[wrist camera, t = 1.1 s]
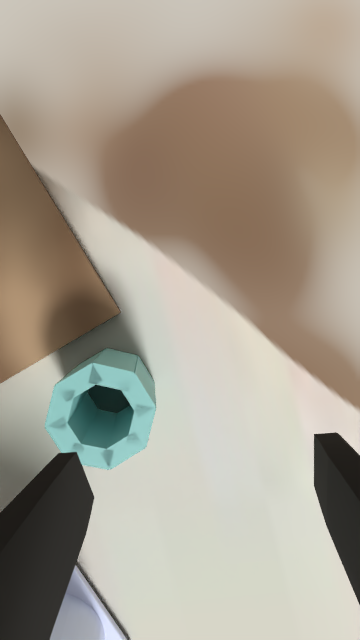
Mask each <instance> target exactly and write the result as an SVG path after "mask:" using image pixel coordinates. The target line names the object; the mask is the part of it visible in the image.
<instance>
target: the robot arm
mask: <svg viewBox="0 0 360 640" xmlns="http://www.w3.org/2000/svg"><path fill="white" fill-rule="evenodd" d="M314 487H315V490H316V493H317V497H318V500H319V503H320V507H321V510H322V513H323V516H324V519H325V522H326V525H327V528H328V530H329V533H330V535H331V537H332V540H333V542H334V545H335V547H336V550H337V552H338V554H339V557H340V559H341V562H342V564H343V566H344V569H345V571H346V573H347V576H348V578H349V581H350V583H351V585H352V588H353V590H354V592H355V595H356V597H357V600H358V602H359V604H360V455H359V454H358V453H357V452H356V451H355V450H354V449H353V448H352V447H351V446H350V445H349V444H348V443H347V442H346V441H345V440H344V439H343V438H342V437H341V436H340V435H339V434H338V433H325V434H314ZM93 500H94V496H93V493H92V490H91V488H90V485H89V483H88V480H87V477H86V475H85V472H84V470H83V467H82V464H81V462H80V459H79V456H78V454H77V452H68V453H58V454H57V455H56V456H55V457H54V458H53V459H52V460H51V461H50V462H49V463H48V464H47V465H46V466H45V467H44V468H43V469H42V471H41V472H40V473H39V474H38V475H37V476H36V477H35V478H34V479H33V480H32V481H31V482H30V483H29V484H28V485H27V486H26V487H25V488H24V489H23V490H22V491H21V492H20V493H19V494H18V495H17V496H16V497H15V498H14V500H13V501H12V502H11V503H10V504H9V505H8V506H7V507H6V508H5V509H4V510H3V511H2V512H1V513H0V640H127V639H126V637H125V636H124V634H123V633H122V631H121V630H120V629H119V627H118V626H117V624H116V623H115V621H114V620H113V618H112V617H111V615H110V614H109V613H108V611H107V610H106V608H105V607H104V605H103V604H102V602H101V601H100V600H99V598H98V597H97V595H96V594H95V592H94V591H93V589H92V588H91V586H90V585H89V584H88V582H87V581H86V579H85V578H84V576H83V575H82V573H81V572H80V570H79V569H78V568H77V566H76V562H77V559H78V556H79V553H80V550H81V547H82V544H83V541H84V538H85V535H86V531H87V527H88V523H89V519H90V514H91V510H92V505H93Z"/></svg>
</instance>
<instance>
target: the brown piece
mask: <svg viewBox="0 0 360 640" xmlns="http://www.w3.org/2000/svg"><path fill="white" fill-rule="evenodd" d="M119 313H121V311H120V310H119V308H118V307H117V305H116V303H115V302H114V300H113V298H112V297H111V295H110V293H109V292H108V290H107V289H106V287H105V285H104V284H103V282H102V280H101V279H100V277H99V275H98V274H97V272H96V271H95V269H94V267H93V266H92V264H91V262H90V261H89V259H88V257H87V256H86V254H85V252H84V251H83V249H82V248H81V246H80V244H79V243H78V241H77V239H76V238H75V236H74V234H73V233H72V231H71V230H70V228H69V226H68V225H67V223H66V221H65V220H64V218H63V216H62V215H61V213H60V212H59V210H58V208H57V207H56V205H55V203H54V202H53V200H52V198H51V197H50V195H49V193H48V192H47V190H46V189H45V187H44V185H43V184H42V182H41V180H40V179H39V177H38V175H37V174H36V172H35V171H34V169H33V167H32V166H31V164H30V162H29V161H28V159H27V157H26V156H25V154H24V153H23V151H22V149H21V148H20V146H19V144H18V143H17V141H16V139H15V138H14V136H13V135H12V133H11V131H10V130H9V128H8V126H7V125H6V123H5V122H4V120H3V118H2V116H1V115H0V383H2V382H4V381H5V380H7V379H9V378H10V377H12V376H14V375H15V374H17V373H19V372H21V371H22V370H24V369H26V368H27V367H29V366H31V365H32V364H34V363H36V362H38V361H39V360H41V359H43V358H44V357H46V356H48V355H49V354H51V353H53V352H55V351H56V350H58V349H60V348H61V347H63V346H65V345H66V344H68V343H70V342H72V341H73V340H75V339H77V338H78V337H80V336H82V335H83V334H85V333H87V332H89V331H90V330H92V329H94V328H95V327H97V326H99V325H100V324H102V323H104V322H105V321H107V320H109V319H111V318H112V317H114V316H116V315H117V314H119Z"/></svg>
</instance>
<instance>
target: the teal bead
mask: <svg viewBox="0 0 360 640" xmlns="http://www.w3.org/2000/svg"><path fill="white" fill-rule="evenodd" d="M94 385H100V386H105V387H109V388H114V389H118V390H121V391H122V392H123V394H124V395H125V397H126V398H127V400H128V402H129V403H130V406H128V407H126V408H125V409H123V410H121V411H120V412H118V413H114V412H109V411H105V410H100V409H98V408H97V406H96V405H95V403H94V402H93V400H92V399H91V397H90V396H89V394H88V391H89V388H91V387H93V386H94ZM155 411H156V398H155V383H154V380H153V379H152V377H151V375H150V374H149V372H148V370H147V369H146V367H145V366H144V364H143V362H142V361H141V359H140V357H139V356H138V355H134V354H130V353H126V352H122V351H117V350H113V349H109V348H107V349H104V350H103V351H101V352H99V353H97V354H96V355H94V356H92V357H91V358H89V359H87V360H86V361H84V362H82V363H81V364H79V365H78V366H77V367H75V368H74V369H73V370H72V371H71V372H70V373H68V374H67V375H66V376H65V377H64V378H63V379H61V380H60V381H59V382H58V383H57V384H56V385H55V386H54V390H53V394H52V398H51V402H50V406H49V410H48V414H47V418H46V422H45V429H46V430H47V432H48V433H49V435H50V436H51V438H52V439H53V441H54V442H55V444H56V445H57V447H58V448H59V450H60V451H61V453H68V452H77V454H78V456H79V459H80V462H81V464H82V465H86V466H91V467H96V468H102V469H107V470H109V468H110V470H111V469H112V468H114V467H116V466H117V465H119V464H120V463H122V462H124V461H125V460H127V459H128V458H130V457H132V456H133V455H135V454H136V453H138V452H140V451H141V450H143V449H145V447H146V446H147V442H148V438H149V434H150V430H151V426H152V422H153V418H154V415H155Z"/></svg>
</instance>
